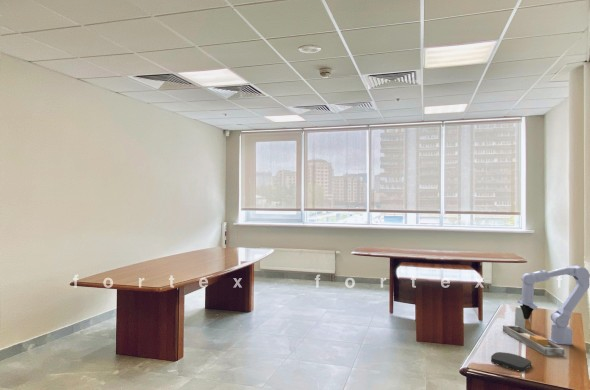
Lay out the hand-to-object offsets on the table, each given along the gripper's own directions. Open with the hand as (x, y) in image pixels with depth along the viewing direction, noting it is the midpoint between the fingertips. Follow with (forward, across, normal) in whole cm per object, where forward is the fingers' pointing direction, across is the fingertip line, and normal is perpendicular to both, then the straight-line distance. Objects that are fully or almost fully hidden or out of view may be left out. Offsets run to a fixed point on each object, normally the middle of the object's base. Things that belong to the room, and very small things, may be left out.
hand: (526, 318), depth 223 cm
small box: (+11, -16, +9) cm, 21 cm away
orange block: (+8, +15, -3) cm, 18 cm away
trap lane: (+10, +9, -3) cm, 14 cm away
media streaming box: (+11, +39, -33) cm, 52 cm away
